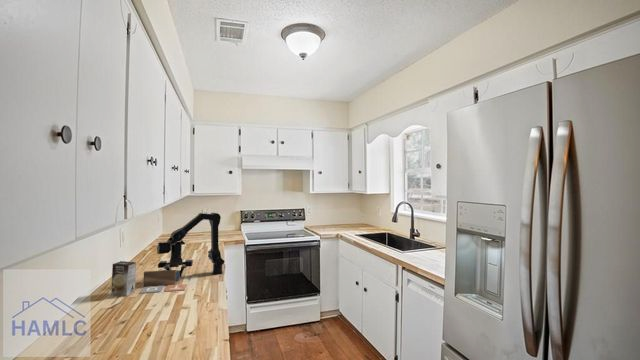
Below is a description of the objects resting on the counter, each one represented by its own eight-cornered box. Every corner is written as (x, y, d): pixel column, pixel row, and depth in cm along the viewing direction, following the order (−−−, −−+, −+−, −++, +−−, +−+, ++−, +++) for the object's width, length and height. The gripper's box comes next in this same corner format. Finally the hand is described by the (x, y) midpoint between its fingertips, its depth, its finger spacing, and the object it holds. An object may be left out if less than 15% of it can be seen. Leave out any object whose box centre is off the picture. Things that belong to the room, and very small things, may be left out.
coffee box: (110, 295, 156) (111, 263, 157) (119, 291, 163) (120, 261, 163) (126, 296, 155) (128, 264, 156) (135, 292, 162) (136, 261, 162)
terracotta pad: (168, 286, 173) (168, 285, 173) (187, 284, 175) (187, 283, 176) (164, 291, 163) (164, 290, 163) (184, 290, 166) (184, 289, 166)
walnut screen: (144, 285, 173) (144, 271, 173) (175, 283, 177) (175, 269, 178) (143, 286, 171) (143, 272, 171) (174, 284, 175) (175, 270, 176)
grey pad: (144, 287, 169) (144, 286, 169) (164, 286, 172) (164, 285, 172) (139, 293, 160) (139, 292, 160) (160, 292, 162) (160, 291, 162)
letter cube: (171, 278, 186) (171, 270, 186) (180, 278, 188) (180, 269, 188) (170, 281, 182) (170, 272, 182) (179, 280, 183) (179, 272, 183)
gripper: (156, 255, 175) (155, 283, 174) (191, 254, 180) (190, 280, 180) (160, 251, 185) (159, 277, 185) (193, 250, 191) (192, 275, 190)
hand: (175, 278), depth 185 cm, fingers closed on letter cube, 5 cm apart
